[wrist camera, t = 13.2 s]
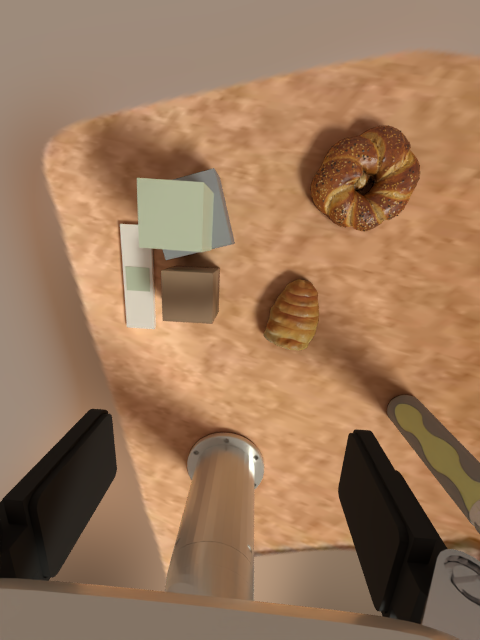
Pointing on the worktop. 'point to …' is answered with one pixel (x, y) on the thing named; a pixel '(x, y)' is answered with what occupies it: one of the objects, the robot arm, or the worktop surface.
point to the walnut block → (190, 294)
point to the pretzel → (366, 178)
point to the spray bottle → (440, 453)
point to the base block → (220, 214)
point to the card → (137, 279)
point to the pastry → (294, 316)
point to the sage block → (174, 215)
